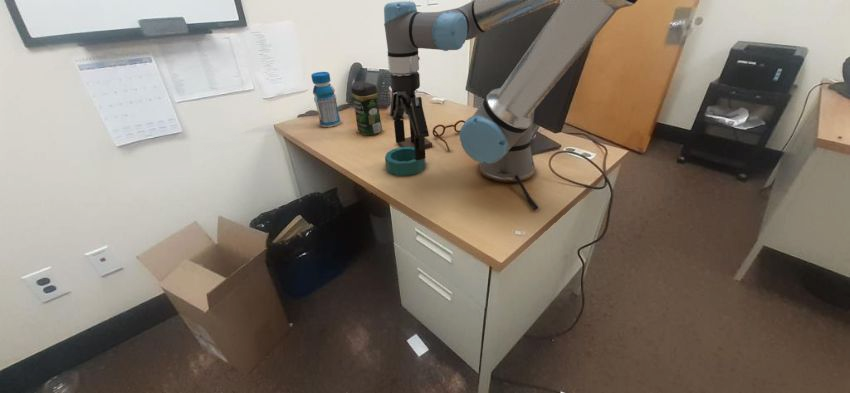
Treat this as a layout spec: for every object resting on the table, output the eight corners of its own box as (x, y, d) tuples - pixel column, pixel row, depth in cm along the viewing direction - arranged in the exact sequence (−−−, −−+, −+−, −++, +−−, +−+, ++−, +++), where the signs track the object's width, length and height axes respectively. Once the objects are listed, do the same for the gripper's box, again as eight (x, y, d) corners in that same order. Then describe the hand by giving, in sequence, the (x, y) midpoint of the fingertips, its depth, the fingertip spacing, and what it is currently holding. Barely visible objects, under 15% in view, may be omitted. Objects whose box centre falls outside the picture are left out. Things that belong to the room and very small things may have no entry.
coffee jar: (354, 131, 133) (346, 82, 123) (372, 126, 137) (365, 77, 128) (367, 138, 127) (359, 86, 117) (385, 132, 131) (379, 82, 121)
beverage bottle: (330, 128, 137) (319, 76, 127) (315, 125, 141) (303, 75, 131) (345, 122, 143) (336, 71, 133) (330, 119, 147) (320, 70, 136)
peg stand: (432, 147, 117) (430, 107, 110) (408, 153, 114) (404, 113, 107) (420, 138, 124) (418, 100, 117) (397, 143, 121) (393, 105, 114)
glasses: (465, 131, 127) (465, 118, 125) (483, 144, 117) (484, 130, 114) (432, 138, 123) (431, 125, 121) (448, 152, 113) (448, 137, 110)
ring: (431, 169, 103) (430, 157, 101) (395, 179, 99) (394, 167, 97) (415, 155, 112) (414, 143, 110) (381, 164, 108) (380, 152, 106)
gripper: (441, 80, 79) (442, 164, 90) (398, 62, 98) (404, 132, 109) (411, 85, 76) (416, 171, 87) (373, 65, 95) (382, 137, 106)
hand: (409, 150), depth 98 cm, fingers open, 13 cm apart
